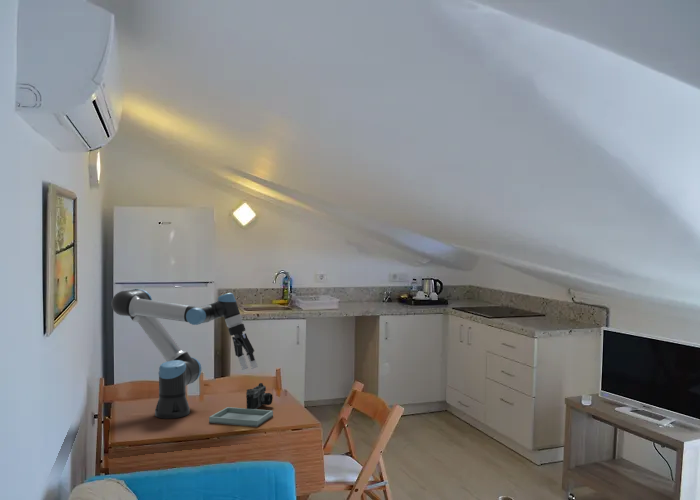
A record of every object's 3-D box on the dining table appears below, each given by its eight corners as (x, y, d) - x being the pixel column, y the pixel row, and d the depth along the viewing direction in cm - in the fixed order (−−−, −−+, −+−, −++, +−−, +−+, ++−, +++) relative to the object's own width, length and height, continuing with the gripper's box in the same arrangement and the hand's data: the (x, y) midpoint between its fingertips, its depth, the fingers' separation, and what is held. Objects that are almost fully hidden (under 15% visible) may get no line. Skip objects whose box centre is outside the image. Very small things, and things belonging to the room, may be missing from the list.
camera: (263, 413, 270) (263, 391, 270) (244, 411, 272) (244, 390, 272) (276, 403, 287) (276, 382, 287) (258, 402, 289) (258, 381, 289)
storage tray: (209, 422, 255) (209, 416, 255) (227, 412, 270) (227, 407, 270) (257, 426, 248) (257, 420, 248) (272, 416, 264) (272, 410, 264)
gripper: (251, 319, 268) (266, 364, 267) (234, 325, 289) (248, 366, 288) (236, 325, 264) (251, 370, 263) (220, 330, 285) (234, 372, 284)
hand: (249, 368), depth 276 cm, fingers open, 13 cm apart
